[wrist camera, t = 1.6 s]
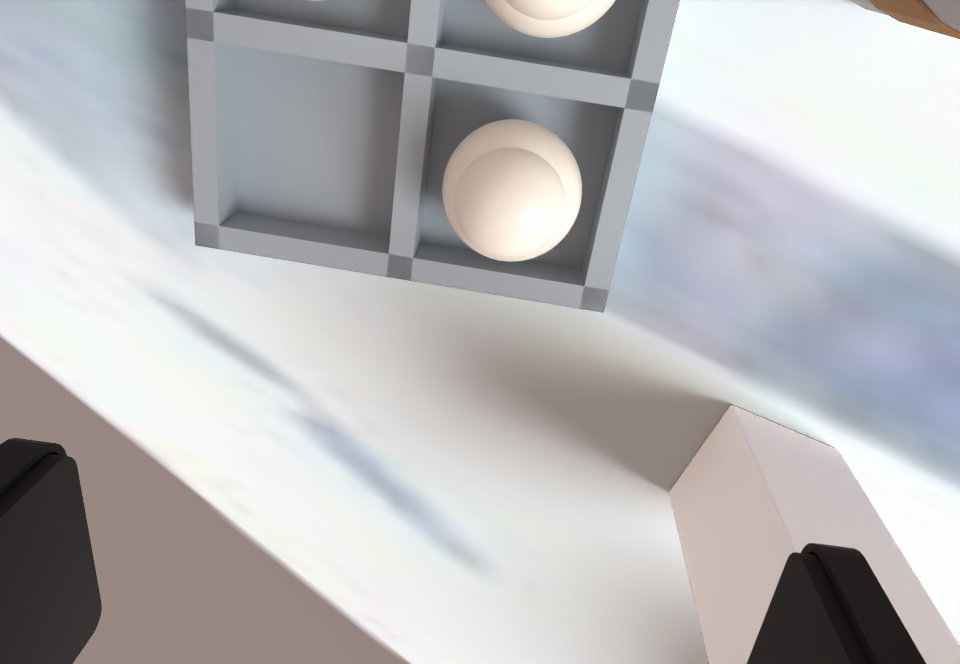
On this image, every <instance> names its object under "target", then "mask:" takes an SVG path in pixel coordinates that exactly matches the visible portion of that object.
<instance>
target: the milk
mask: <svg viewBox="0 0 960 664" xmlns="http://www.w3.org/2000/svg"><path fill="white" fill-rule="evenodd" d="M669 496H670V500H671V504H672V509H673V513H674V517H675V521H676V526H677V530H678V534H679V538H680V543H681V547H682V551H683V555H684V559H685V564H686V568H687V572H688V576H689V581H690V585H691V589H692V593H693V598H694V602H695V606H696V610H697V614H698V619H699V623H700V627H701V631H702V636H703V640H704V644H705V648H706V653H707V657H708V661H709V664H747V662H748V659H749V656H750V654H751V651H752V649H753V646H754V643H755V641H756V638H757V636H758V633H759V631H760V628H761V625H762V623H763V620H764V618H765V615H766V613H767V610H768V607H769V605H770V602H771V600H772V597H773V595H774V592H775V589H776V587H777V584H778V582H779V579H780V576H781V574H782V571H783V569H784V566H785V564H786V561H787V559H788V557H789V555H790V554H792V553H794V552H797V553H801V552H802V550H803V548H804V547H805V546H806V545H807V544H808V543H817V544H825V545H832V546H840V547H848V548H855V549H857V550H859V551H860V552H861V553H862V554H863V556H864V557H865V558H866V560H867V562H868V564H869V565H870V567H871V569H872V571H873V572H874V574H875V576H876V577H877V579H878V581H879V583H880V584H881V586H882V588H883V590H884V591H885V593H886V595H887V597H888V598H889V600H890V602H891V603H892V605H893V607H894V609H895V610H896V612H897V614H898V616H899V617H900V619H901V621H902V623H903V624H904V626H905V628H906V629H907V631H908V633H909V635H910V636H911V638H912V640H913V642H914V643H915V645H916V647H917V649H918V650H919V652H920V654H921V655H922V657H923V659H924V661H925V662H926V664H960V646H959V644H958V643H957V641H956V639H955V638H954V636H953V635H952V633H951V631H950V630H949V628H948V626H947V625H946V623H945V622H944V620H943V618H942V617H941V615H940V614H939V612H938V610H937V609H936V607H935V605H934V604H933V602H932V601H931V599H930V597H929V596H928V594H927V593H926V591H925V589H924V588H923V586H922V584H921V583H920V581H919V580H918V578H917V576H916V575H915V573H914V572H913V570H912V568H911V567H910V565H909V564H908V562H907V560H906V559H905V557H904V555H903V554H902V552H901V551H900V549H899V547H898V546H897V544H896V543H895V541H894V539H893V538H892V536H891V534H890V533H889V531H888V530H887V528H886V526H885V525H884V523H883V522H882V520H881V518H880V517H879V515H878V513H877V512H876V510H875V509H874V507H873V505H872V504H871V502H870V501H869V499H868V497H867V496H866V494H865V493H864V491H863V489H862V488H861V486H860V484H859V483H858V481H857V480H856V478H855V476H854V475H853V473H852V472H851V470H850V468H849V467H848V465H847V463H846V462H845V460H844V459H843V457H842V455H841V454H840V452H839V451H838V450H837V449H835V448H832V447H830V446H828V445H825V444H823V443H821V442H818V441H816V440H814V439H811V438H809V437H806V436H804V435H802V434H799V433H797V432H795V431H792V430H790V429H788V428H785V427H783V426H781V425H778V424H776V423H774V422H771V421H769V420H766V419H764V418H762V417H759V416H757V415H755V414H752V413H750V412H748V411H745V410H743V409H741V408H738V407H736V406H733V405H731V406H730V407H729V408H728V410H727V411H726V412H725V414H724V415H723V417H722V418H721V420H720V421H719V422H718V424H717V425H716V427H715V428H714V429H713V431H712V432H711V434H710V435H709V436H708V438H707V439H706V441H705V442H704V444H703V445H702V446H701V448H700V449H699V451H698V452H697V453H696V455H695V456H694V458H693V459H692V460H691V462H690V463H689V465H688V466H687V468H686V469H685V470H684V472H683V473H682V475H681V476H680V477H679V479H678V480H677V482H676V483H675V484H674V486H673V487H672V489H671V490H670V492H669Z"/></svg>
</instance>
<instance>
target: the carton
mask: <svg viewBox="0 0 960 664" xmlns="http://www.w3.org/2000/svg"><path fill="white" fill-rule="evenodd" d="M679 1H680V0H185V10H186V33H187V57H188V81H189V105H190V128H191V152H192V176H193V200H194V223H195V245H197V246H203V247H209V248H216V249H222V250H228V251H234V252H240V253H246V254H252V255H258V256H264V257H270V258H276V259H282V260H288V261H294V262H300V263H306V264H312V265H319V266H325V267H331V268H337V269H343V270H349V271H355V272H361V273H367V274H373V275H379V276H385V277H391V278H397V279H403V280H409V281H415V282H422V283H428V284H434V285H440V286H446V287H452V288H458V289H464V290H470V291H476V292H482V293H488V294H494V295H500V296H506V297H512V298H519V299H525V300H531V301H537V302H543V303H549V304H555V305H561V306H567V307H573V308H579V309H585V310H591V311H597V312H603V313H604V309H605V305H606V301H607V297H608V293H609V288H610V284H611V280H612V276H613V272H614V268H615V264H616V260H617V256H618V251H619V247H620V243H621V239H622V235H623V231H624V227H625V223H626V219H627V215H628V210H629V206H630V202H631V198H632V194H633V190H634V186H635V182H636V178H637V173H638V169H639V165H640V161H641V157H642V153H643V149H644V145H645V141H646V137H647V132H648V128H649V124H650V120H651V116H652V112H653V108H654V104H655V100H656V95H657V91H658V87H659V83H660V79H661V75H662V71H663V67H664V63H665V59H666V54H667V50H668V46H669V42H670V38H671V34H672V30H673V26H674V22H675V17H676V13H677V9H678V5H679Z"/></svg>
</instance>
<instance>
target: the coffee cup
mask: <svg viewBox="0 0 960 664" xmlns="http://www.w3.org/2000/svg"><path fill="white" fill-rule="evenodd" d="M851 1H853V2H854V3H856V4H858V5H860V6H861V7H863V8H865V9H868V10H871V11H875V12H879V13H882V14H886V15H889V16H891V17H893V18H894V19H896V20H898V21H900V22H903V23H907V24H910V25H913V26H917V27H920V28H924V29H927V30H931V31H934V32H937V33H941V34H944V35H948V36H951V37H955V38H958V39H960V0H851Z"/></svg>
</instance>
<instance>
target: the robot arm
mask: <svg viewBox="0 0 960 664" xmlns="http://www.w3.org/2000/svg"><path fill="white" fill-rule="evenodd" d="M101 609H102V608H101V599H100V593H99V587H98V582H97V576H96V570H95V565H94V560H93V553H92V548H91V542H90V536H89V531H88V525H87V519H86V514H85V508H84V503H83V497H82V491H81V486H80V480H79V474H78V469H77V465H76V462H75V460H74V459H73V458H72V457H68V456H67V455H66V452H65V450H64V448H63V447H62V446H61V445H59V444H56V443H49V442H41V441H33V440H26V439H19V438H13V439H8V440H7V441H5V442H4V443H2V444H1V445H0V664H73V662H74V661H75V659H76V657H77V656H78V655H79V654H80V652H81V651H82V649H83V648H84V646H85V645H86V643H87V642H88V640H89V639H90V637H91V636H92V635H93V633H94V631H95V629H96V627H97V625H98V622H99V619H100V615H101ZM747 664H926V662H925V661H924V659H923V657H922V655H921V654H920V652H919V650H918V649H917V647H916V645H915V643H914V642H913V640H912V638H911V636H910V635H909V633H908V631H907V629H906V628H905V626H904V624H903V623H902V621H901V619H900V617H899V616H898V614H897V612H896V610H895V609H894V607H893V605H892V603H891V602H890V600H889V598H888V597H887V595H886V593H885V591H884V590H883V588H882V586H881V584H880V583H879V581H878V579H877V577H876V576H875V574H874V572H873V571H872V569H871V567H870V565H869V564H868V562H867V560H866V558H865V557H864V556H863V554H862V553H861V552H860V551H859V550H857V549H855V548H848V547H840V546H832V545H825V544H817V543H808V544H807V545H806V546H805V547H804V548H803V550H802V552H801V553H797V552H794V553H792V554H790V555H789V557H788V559H787V561H786V564H785V566H784V569H783V571H782V574H781V576H780V579H779V582H778V584H777V587H776V589H775V592H774V595H773V597H772V600H771V602H770V605H769V607H768V610H767V613H766V615H765V618H764V620H763V623H762V625H761V628H760V631H759V633H758V636H757V638H756V641H755V643H754V646H753V649H752V651H751V654H750V656H749V659H748V662H747Z"/></svg>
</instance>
